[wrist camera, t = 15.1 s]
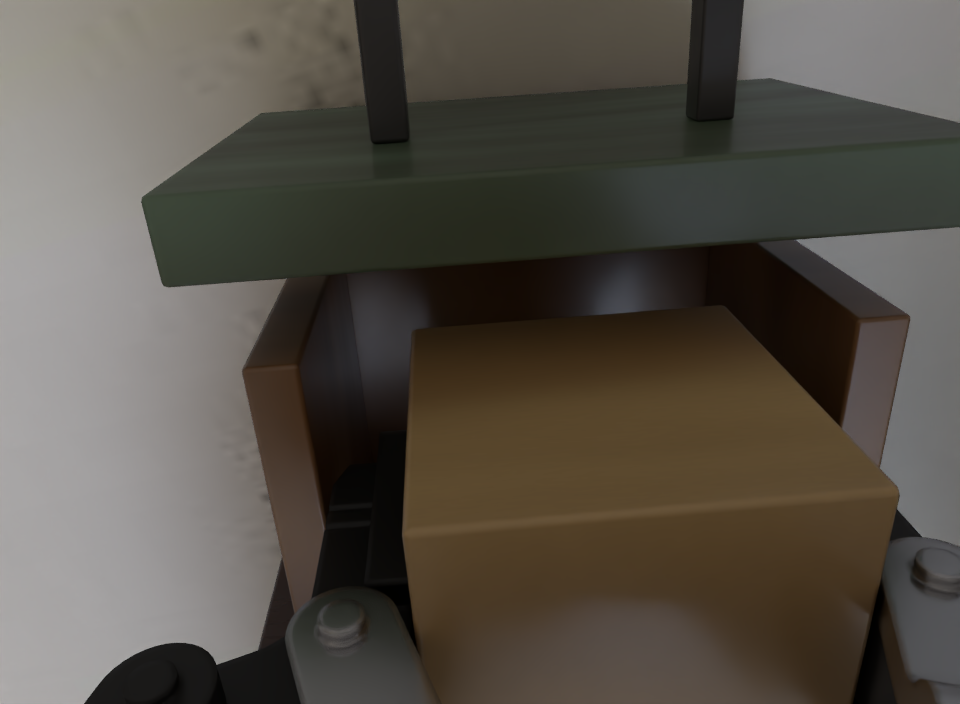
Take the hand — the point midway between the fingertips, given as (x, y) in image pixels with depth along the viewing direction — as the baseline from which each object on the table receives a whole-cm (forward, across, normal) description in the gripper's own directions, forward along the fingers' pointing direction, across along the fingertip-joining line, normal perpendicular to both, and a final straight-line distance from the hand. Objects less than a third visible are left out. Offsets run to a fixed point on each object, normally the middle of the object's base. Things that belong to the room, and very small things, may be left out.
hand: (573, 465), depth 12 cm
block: (+1, 0, 0) cm, 1 cm away
